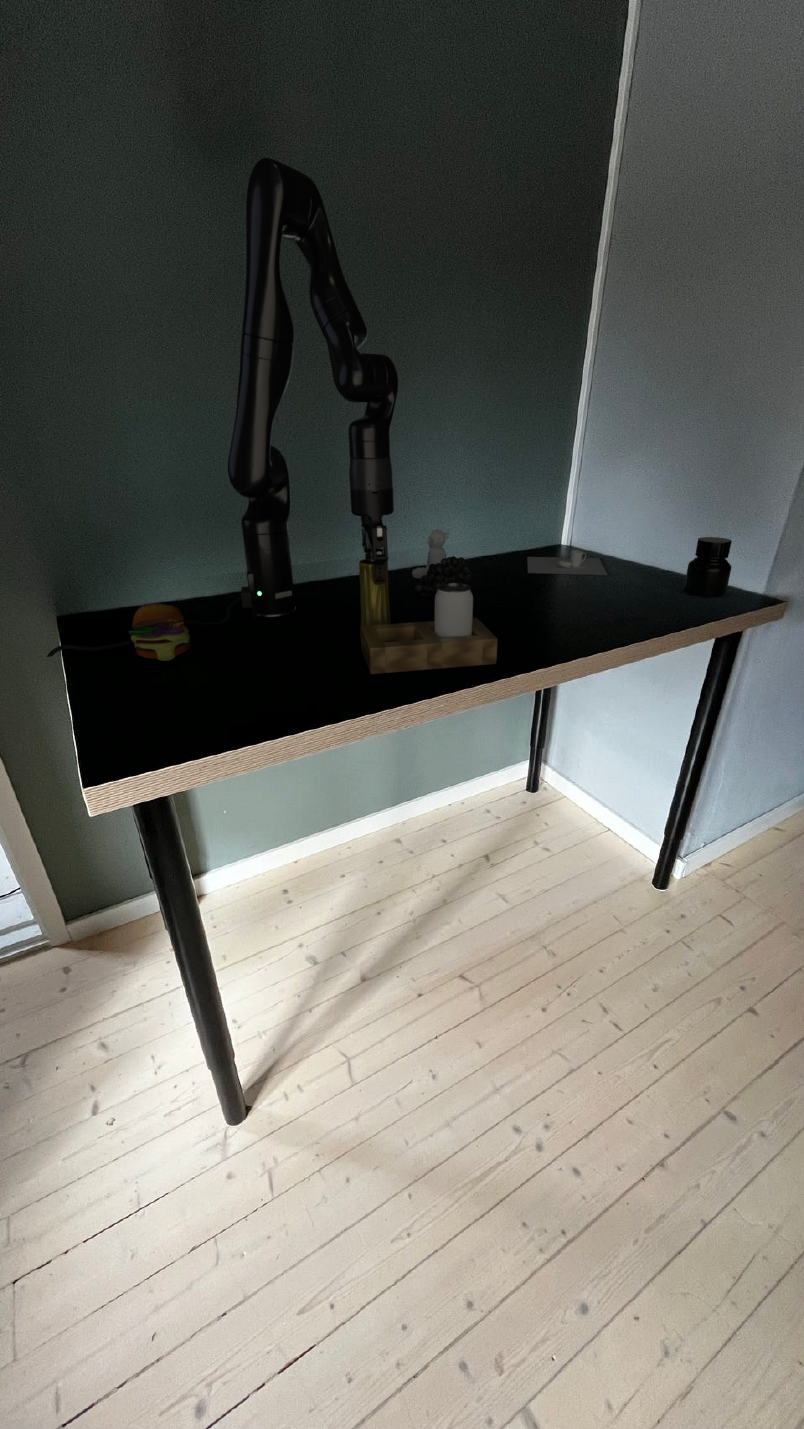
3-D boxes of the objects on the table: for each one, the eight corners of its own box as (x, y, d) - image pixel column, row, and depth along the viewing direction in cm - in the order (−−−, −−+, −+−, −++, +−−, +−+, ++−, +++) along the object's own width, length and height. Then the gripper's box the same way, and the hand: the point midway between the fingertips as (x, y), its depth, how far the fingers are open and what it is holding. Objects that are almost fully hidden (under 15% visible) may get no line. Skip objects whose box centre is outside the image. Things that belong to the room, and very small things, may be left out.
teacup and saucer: (557, 569, 169) (559, 554, 167) (556, 563, 176) (557, 548, 174) (592, 570, 168) (593, 555, 166) (589, 563, 175) (590, 548, 173)
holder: (370, 674, 105) (369, 648, 103) (361, 650, 116) (360, 626, 114) (496, 663, 109) (497, 638, 107) (475, 641, 119) (476, 617, 117)
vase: (380, 643, 119) (378, 566, 113) (353, 638, 122) (349, 562, 116) (398, 634, 123) (396, 559, 117) (371, 629, 126) (369, 556, 120)
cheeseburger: (135, 666, 109) (122, 608, 107) (135, 661, 119) (123, 607, 117) (196, 656, 113) (185, 599, 111) (191, 652, 123) (181, 599, 120)
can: (446, 663, 109) (447, 594, 104) (427, 651, 114) (427, 585, 109) (478, 656, 112) (481, 589, 107) (458, 645, 117) (460, 580, 112)
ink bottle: (707, 586, 152) (717, 534, 147) (736, 595, 144) (747, 541, 139) (673, 590, 149) (682, 537, 144) (700, 600, 142) (711, 545, 136)
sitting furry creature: (436, 571, 170) (437, 524, 165) (460, 576, 164) (461, 528, 159) (410, 577, 164) (410, 529, 159) (434, 583, 159) (434, 533, 153)
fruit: (418, 561, 139) (473, 551, 146) (399, 567, 146) (453, 557, 153) (426, 601, 141) (480, 589, 148) (407, 604, 148) (459, 593, 155)
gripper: (345, 482, 117) (350, 571, 124) (355, 491, 104) (360, 589, 111) (385, 480, 118) (389, 568, 125) (400, 488, 105) (403, 586, 112)
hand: (375, 578), depth 118 cm, fingers open, 8 cm apart
